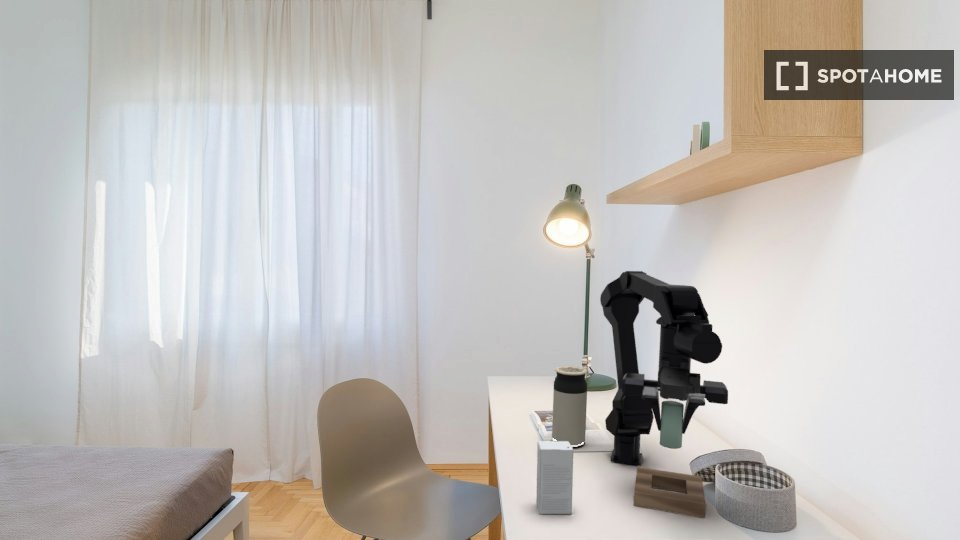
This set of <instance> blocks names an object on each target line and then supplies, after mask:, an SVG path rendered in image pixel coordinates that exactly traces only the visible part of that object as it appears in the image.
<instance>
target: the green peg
mask: <svg viewBox="0 0 960 540" xmlns="http://www.w3.org/2000/svg"><path fill="white" fill-rule="evenodd" d="M684 412H685V407H684V404H683V403H682V402H679V401H676V400H663V401H661V407H660V416H661V430H660V431H659V445H660V446H662V447H664V448H667V449H673V450H674V449H675V450H676V449H681V448H682V447H683V434H682V429H683V418H684Z"/></svg>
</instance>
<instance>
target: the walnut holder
mask: <svg viewBox="0 0 960 540" xmlns="http://www.w3.org/2000/svg"><path fill="white" fill-rule="evenodd" d="M634 482H635V483H634V490H633V506H635V507H640V508H645V509H652V510H657V511H662V512H663V511H664V512H668V513H674V514H680V515H686V516H691V517H697V518H703V519H706V512H707V511H706V506H707V502H706V498H705V495H706V494H705V489H704V484H703V483H704V482H703V477H702V476H700V475H694V474H687V473H680V472H675V471H667V470H662V469H657V468H656V469H655V468H648V467H641V466H637V467H636V475H635V481H634Z"/></svg>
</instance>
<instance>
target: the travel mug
mask: <svg viewBox="0 0 960 540" xmlns="http://www.w3.org/2000/svg"><path fill="white" fill-rule="evenodd" d="M554 370H555V372H556V377H555V379H554V381H553V397H552V398H553V400H552V424H551V425H552V426H551V427H552V431H551V438H552V437H553V438H554V439H556V440H557V441H569V443H570V445H578V444H581V443H582V442H584V441H585V442H586V429H587V406H588V405H587V404H588V402H587V401H588V400H587V399H588V382H587V380H586V375H587V371H588V370H587V369H585V368H583V367H579V366H573V365H571V366H570V365H564V366H563V365H561V366H558V367H555V369H554Z"/></svg>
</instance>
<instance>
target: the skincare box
mask: <svg viewBox="0 0 960 540" xmlns="http://www.w3.org/2000/svg"><path fill="white" fill-rule="evenodd" d="M536 451H537V452H536V453H537V455H536V458H537V459H536V462H537V463H536V499H535V500H536V502H535V503H536V506H537V510H538V514H539V515H572V514H573V512H572V511H573V486H574V484H573V482H574V481H573V479H574V477H573V476H574V475H573V473H574V448H572V447H571V445H570V443H569V441H552V440H549V441H547V440H538V441H537V450H536Z"/></svg>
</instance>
